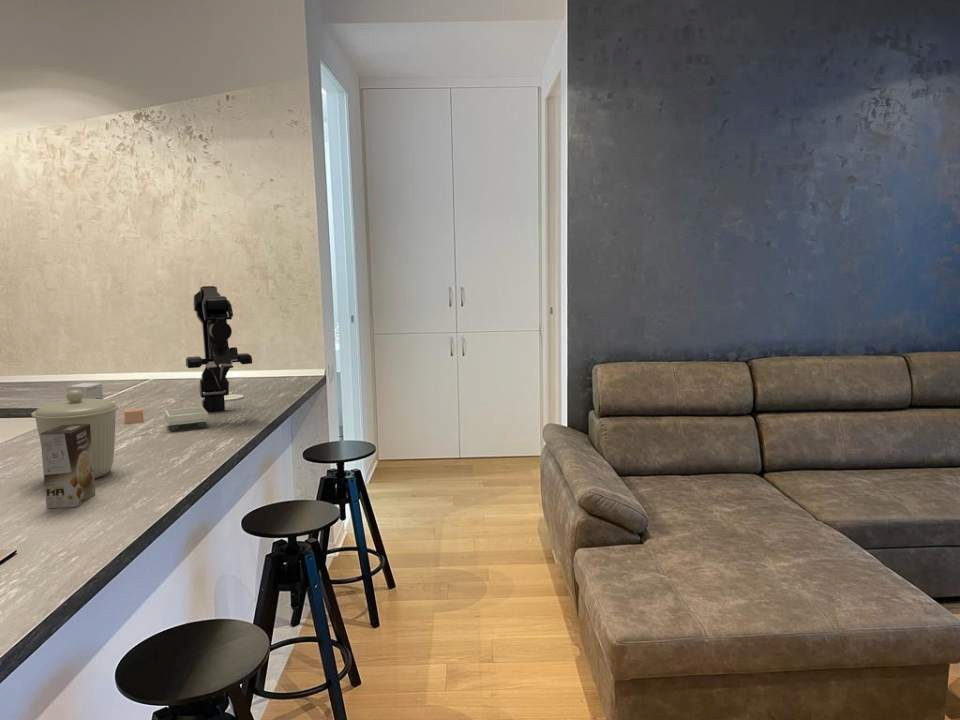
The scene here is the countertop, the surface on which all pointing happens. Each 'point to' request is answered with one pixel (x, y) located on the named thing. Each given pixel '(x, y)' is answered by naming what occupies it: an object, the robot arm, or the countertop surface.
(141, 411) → the block
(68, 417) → the canister
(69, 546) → the countertop surface
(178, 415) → the white tray
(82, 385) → the supplement box
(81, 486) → the coffee box
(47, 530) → the countertop surface
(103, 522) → the countertop surface
